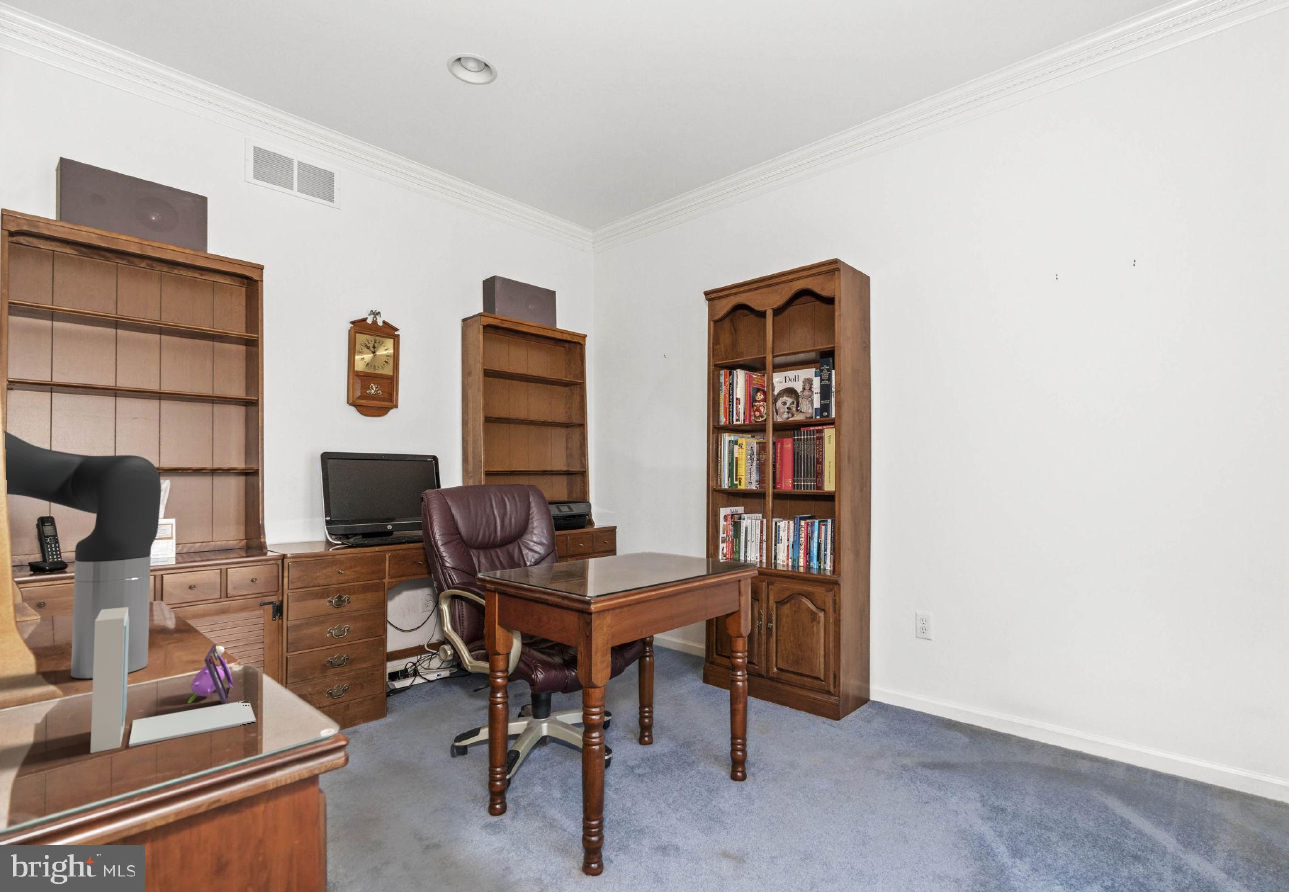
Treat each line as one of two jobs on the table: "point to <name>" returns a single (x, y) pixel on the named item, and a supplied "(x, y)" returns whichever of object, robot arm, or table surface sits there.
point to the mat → (190, 722)
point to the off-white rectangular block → (109, 679)
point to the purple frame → (212, 676)
